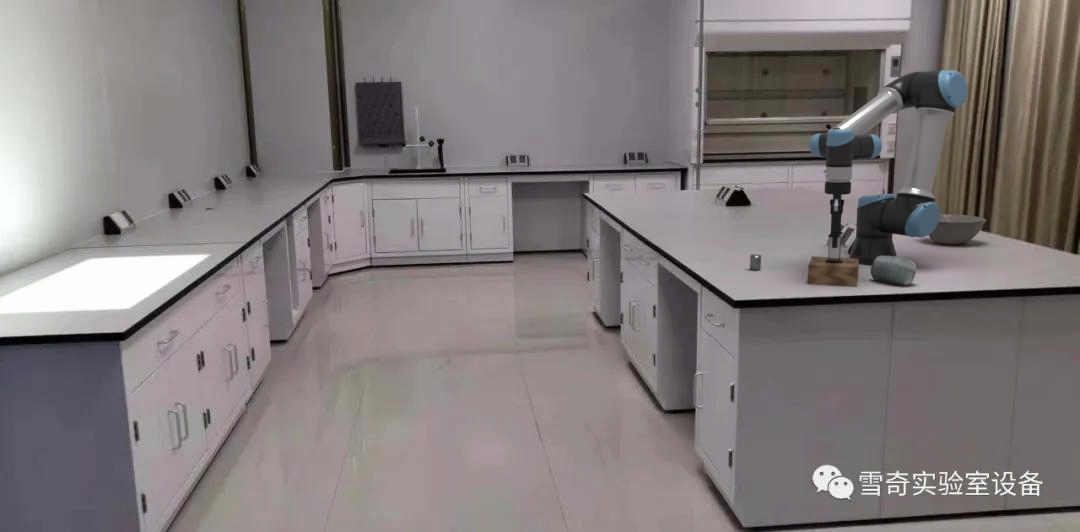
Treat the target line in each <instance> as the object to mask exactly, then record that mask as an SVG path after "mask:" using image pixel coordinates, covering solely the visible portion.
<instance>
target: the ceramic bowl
mask: <svg viewBox="0 0 1080 532" xmlns="http://www.w3.org/2000/svg"><path fill="white" fill-rule="evenodd" d="M986 222H987V219H986V218H983V217H979V216H973V215H968V214H967V215H966V214H951V213H949V214H942V213H940V219H939V222H938V224H937V226H936V228H935V229H934V231H933V232H931V233H930V234H929V235H928V237H929V238H930V239H931V240H932V241H933V242H935V243H938V244H944V245H963V244H966V243H967V242H970V241H972V239H974V238H975V237H976V236H977V235H978V234H979V233H980V231H981V229H982V228H983V226H984V224H985V223H986Z"/></svg>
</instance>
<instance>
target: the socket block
mask: <svg viewBox="0 0 1080 532" xmlns="http://www.w3.org/2000/svg"><path fill="white" fill-rule="evenodd" d="M859 264H860V263H859V259H856V258H849V257H840V263H828V256H811V258H810V260H809V263H808V265H807V266H808V269H807V284H808V285H820V284H821V286H822V285H823V286H836V287H837V286H840V287H858V286H857V285H858V282H859V281H858V279H859V278H858V277H859V266H860V265H859Z"/></svg>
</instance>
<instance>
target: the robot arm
mask: <svg viewBox="0 0 1080 532" xmlns="http://www.w3.org/2000/svg"><path fill="white" fill-rule="evenodd" d="M967 98H968V84H967V81H966V79H965V76H964V75H963V74H962V73H961V72H959V71H957V70H953V69H951V70H950V69H948V70H947V69H942V70H929V71H928V70H927V71H925V70H924V71H912V72H909V73H906V74H904V75H902V76H899V77H898V78H896V79H894V80H892V81H891V82H889V83H887V84H886V85H885V86H883V87H882V88H881V89H880V90H878V91H877V94H876V96H875V97H874V98H872V99H871V100H869V101H868V102H866V103H865V104H864V105H863V106H862V107H860V108H858V109H857V110H856V111H854V113H852V114H851V115H849V116H848V117H847V118H845V119H844V120H842V121H841V122H840V123H838V124H837V125H836V126H835V127H832V128H831V129H830V130H828V131H827V132H825V133H824V132H822V133H816V134H814V135H812V137H811V138H810V140H809V142H808V143H809V147H808V148H809V152H810V154H812V155H813V156H815V157H818V158H823V159H825V169H823V171H822V172H823V173H825V175H824V176H825V177H824V178H825V180H826V181H825V182H824V193H825V194H826V195H832V199H830V201H829V206H830V213H829V214H830V215H831V218H830V219H831V220H830V232H829V234H830V235H829V234H828V235H827V236H828V238H829V237H830V255H829V258H839V245H840V237H839V236H840V234H841V236H842V235H843V233H844V232H843V231H842V228H841V227H842V215H843V213H844V204H845V199H842V198H843V195H844V196H845V195H850V194H851V193H852V182H851V180H852V179H853V178H852V177H853V161H854V160H858V161H859V160H869V159H875V158H877V157H878V156H880V154H881V152H882V150H883V149H882V148H883V142H882V139H881V138H880V137H879V136H878V135H876V134H873V133H871V134H870V133H867V132H869V131H870V130H871V129H873V128H874V127H875V126H877V125H879V124H880V123H881V122H882V121H883V120H885V119H886V118H888V117H889V116H890V115H892V114H893V115H894V114H898V113H899V112H900V111H902V110H905V109H910V108H915V112H916V114H917V115H918V120H917V124H916V128H915V133H914V137H913V142H912V148H911V152H910V156H909V160H908V164H907V165H908V166H907V169H906V174H905V178H904V185H903V187H902V189H900V190H898V191H897V193H896V194H894V193H884V194H882V193H881V194H871V195H868V194H867V195H863V196H860V197H859V198H858V200H857V207H856V227H855V230H856V231H855V232H856V233H855V240H854V243H853V244H852V247H851V250H850V251H849V257H848V258H856V259H859V264H862V265H870V266H872V263H873V261H874V260H875V258H876V257H878V256H896V257H898V255H897V252H896V247H895V246H894V245H895V244H894V240H893V236H894V235H899V236H906V237H910V238H924V237H929V234H930V233H931V232H933V231H934V229H935V228H936V226H937V224H938V222H939V219H940V214H941V212H940V210H941V209H940V207H939V205H938V204H937V203H936V197H935V195H934V194H933V189H934V183H935V178H936V174H937V169H938V165H939V161H940V156H941V153H942V152H941V151H942V148H943V147H942V146H943V144H944V143H943V142H944V138H945V133H946V130H947V124H948V122H949V121H948V120H949V119H950V118H952V117H953V116H955V113H956V110H957V109H958V108H961V107H962V106H963V105H964V104H965V102H966V100H967Z"/></svg>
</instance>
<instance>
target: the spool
mask: <svg viewBox="0 0 1080 532" xmlns="http://www.w3.org/2000/svg"><path fill="white" fill-rule="evenodd" d="M870 266H871V267H870V276H871V278H872V279H874V280H875V281H877V282H885V283H891V284H895V285H896V284H897V285H900V286H908V285H910V284H911V283H913V281H914V279H915V276H916V274H917V266H916V264H915V263H914V262H913V261H911V260H910V259H907V258H905V257H900V256H897V257H896V256H878V257H876V258H875V260H874V261H873V263H872V265H870Z"/></svg>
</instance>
